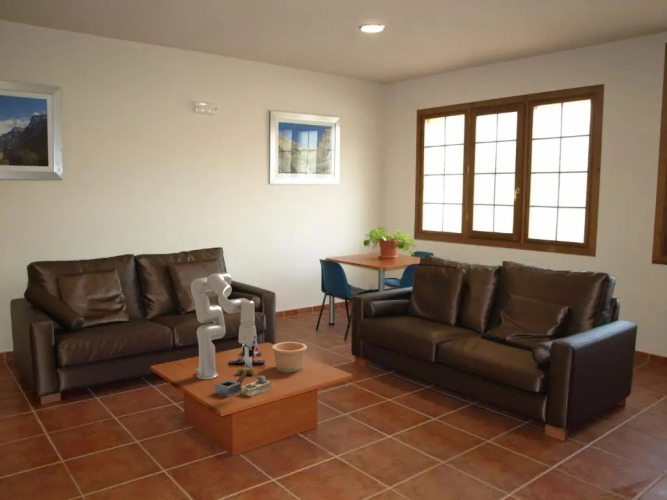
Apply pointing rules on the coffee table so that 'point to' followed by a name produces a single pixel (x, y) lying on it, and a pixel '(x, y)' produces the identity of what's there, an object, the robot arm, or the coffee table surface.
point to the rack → (256, 387)
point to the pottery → (289, 356)
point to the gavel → (245, 373)
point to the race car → (256, 353)
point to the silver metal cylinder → (247, 357)
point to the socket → (227, 388)
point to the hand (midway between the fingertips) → (248, 355)
